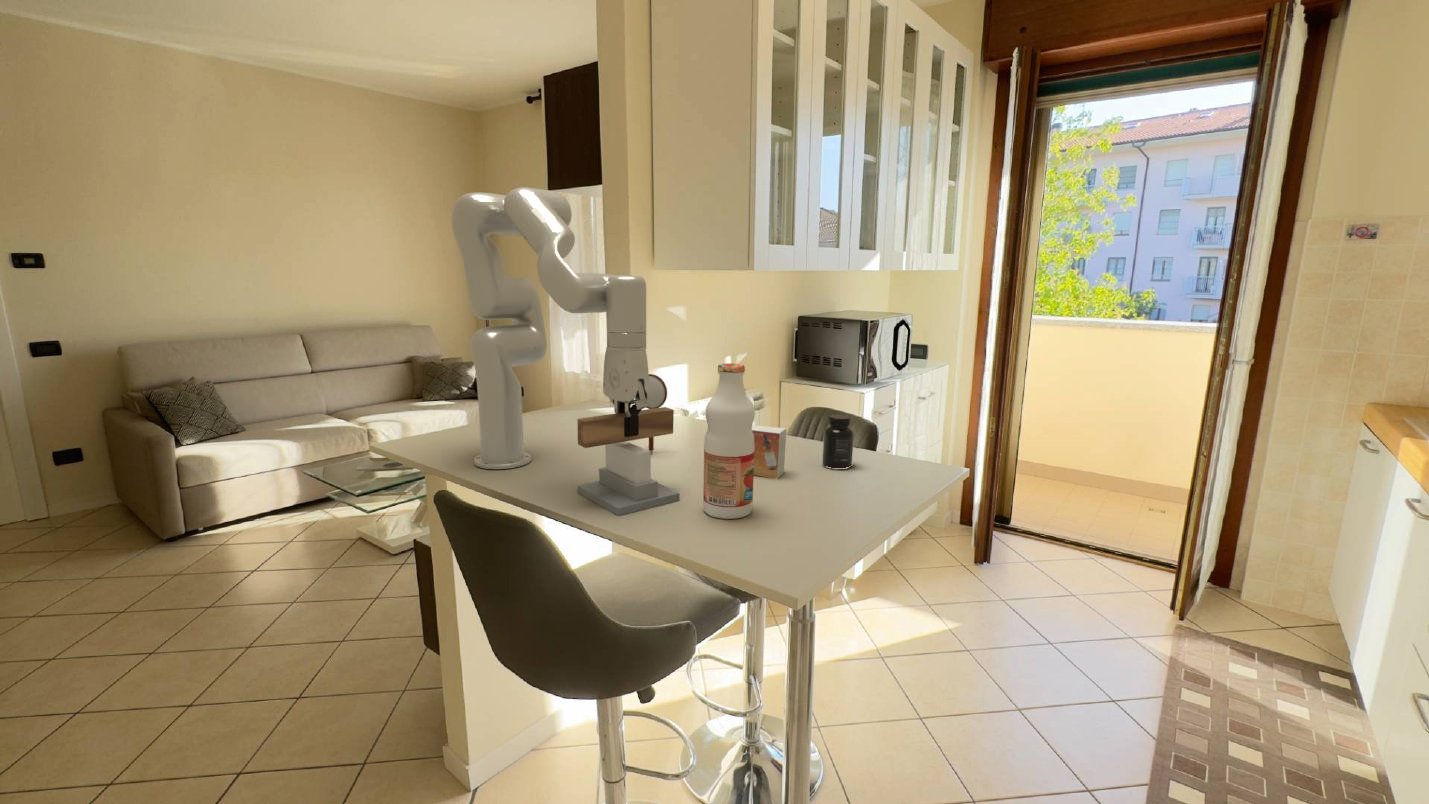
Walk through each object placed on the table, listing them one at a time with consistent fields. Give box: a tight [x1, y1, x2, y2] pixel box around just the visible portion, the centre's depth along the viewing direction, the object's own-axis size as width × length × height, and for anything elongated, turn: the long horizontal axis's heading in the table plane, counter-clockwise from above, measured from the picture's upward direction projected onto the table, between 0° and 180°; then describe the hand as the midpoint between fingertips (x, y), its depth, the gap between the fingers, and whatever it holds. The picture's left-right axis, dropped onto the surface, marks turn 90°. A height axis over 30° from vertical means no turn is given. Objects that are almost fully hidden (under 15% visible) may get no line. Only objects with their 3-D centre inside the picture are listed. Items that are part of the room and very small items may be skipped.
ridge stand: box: [576, 441, 681, 517], centre depth 128 cm, size 16×14×10 cm
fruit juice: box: [702, 362, 756, 520], centre depth 120 cm, size 9×9×28 cm
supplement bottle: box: [822, 414, 855, 468], centre depth 152 cm, size 7×7×12 cm
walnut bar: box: [577, 406, 675, 449], centre depth 127 cm, size 3×20×5 cm, turn 129°
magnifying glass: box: [645, 373, 668, 455], centre depth 158 cm, size 9×2×20 cm, turn 66°
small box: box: [752, 424, 787, 479], centre depth 145 cm, size 8×6×10 cm
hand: (627, 433), depth 127 cm, fingers closed on walnut bar, 2 cm apart
